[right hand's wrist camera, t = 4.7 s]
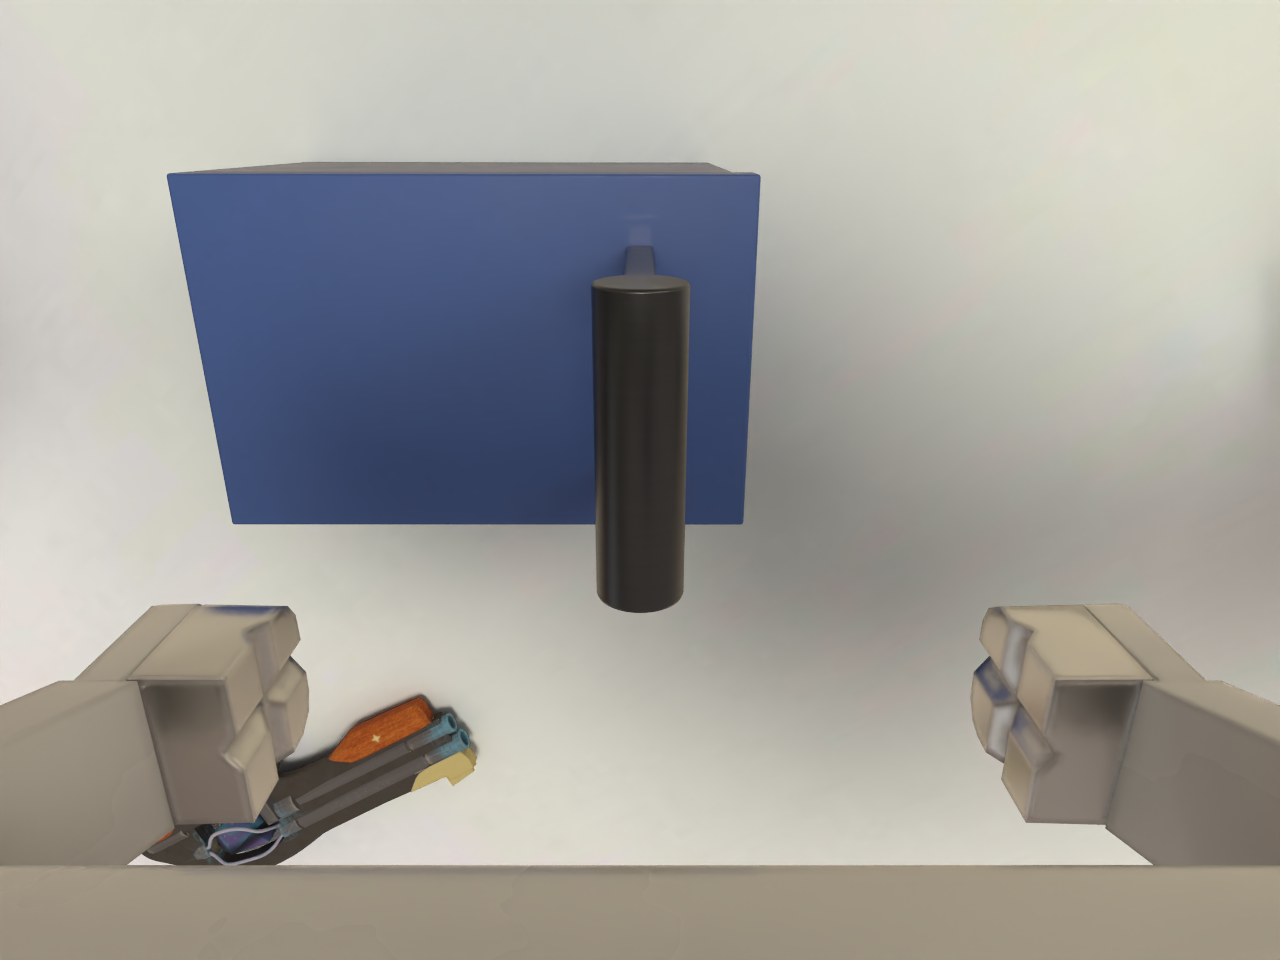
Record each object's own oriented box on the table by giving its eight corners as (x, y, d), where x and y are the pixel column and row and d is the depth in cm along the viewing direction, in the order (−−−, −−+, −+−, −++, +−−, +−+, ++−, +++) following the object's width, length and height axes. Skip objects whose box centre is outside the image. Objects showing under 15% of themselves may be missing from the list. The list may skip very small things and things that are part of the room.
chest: (709, 162, 31) (734, 172, 23) (702, 421, 35) (721, 507, 27) (306, 162, 31) (189, 171, 23) (340, 420, 35) (250, 507, 27)
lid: (754, 172, 23) (822, 193, 15) (738, 507, 27) (785, 681, 18) (189, 171, 23) (-71, 192, 15) (249, 508, 27) (69, 680, 18)
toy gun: (-3, 787, 39) (130, 952, 41) (359, 599, 37) (478, 783, 39) (38, 754, 41) (161, 910, 43) (377, 577, 39) (488, 751, 41)
